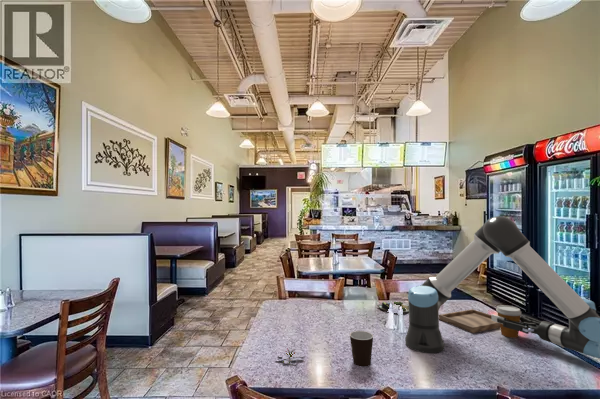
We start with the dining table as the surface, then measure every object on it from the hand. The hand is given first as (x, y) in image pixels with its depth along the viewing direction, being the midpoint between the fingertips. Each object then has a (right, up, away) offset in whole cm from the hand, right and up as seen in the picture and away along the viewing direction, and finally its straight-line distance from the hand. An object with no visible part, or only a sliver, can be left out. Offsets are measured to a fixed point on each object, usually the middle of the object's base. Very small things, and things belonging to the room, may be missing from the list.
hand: (498, 316), depth 143 cm
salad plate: (-38, -10, +35) cm, 52 cm away
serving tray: (-6, -8, +12) cm, 15 cm away
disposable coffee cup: (+2, -7, -5) cm, 9 cm away
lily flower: (-96, -8, -25) cm, 100 cm away
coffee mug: (-69, -7, -27) cm, 74 cm away
